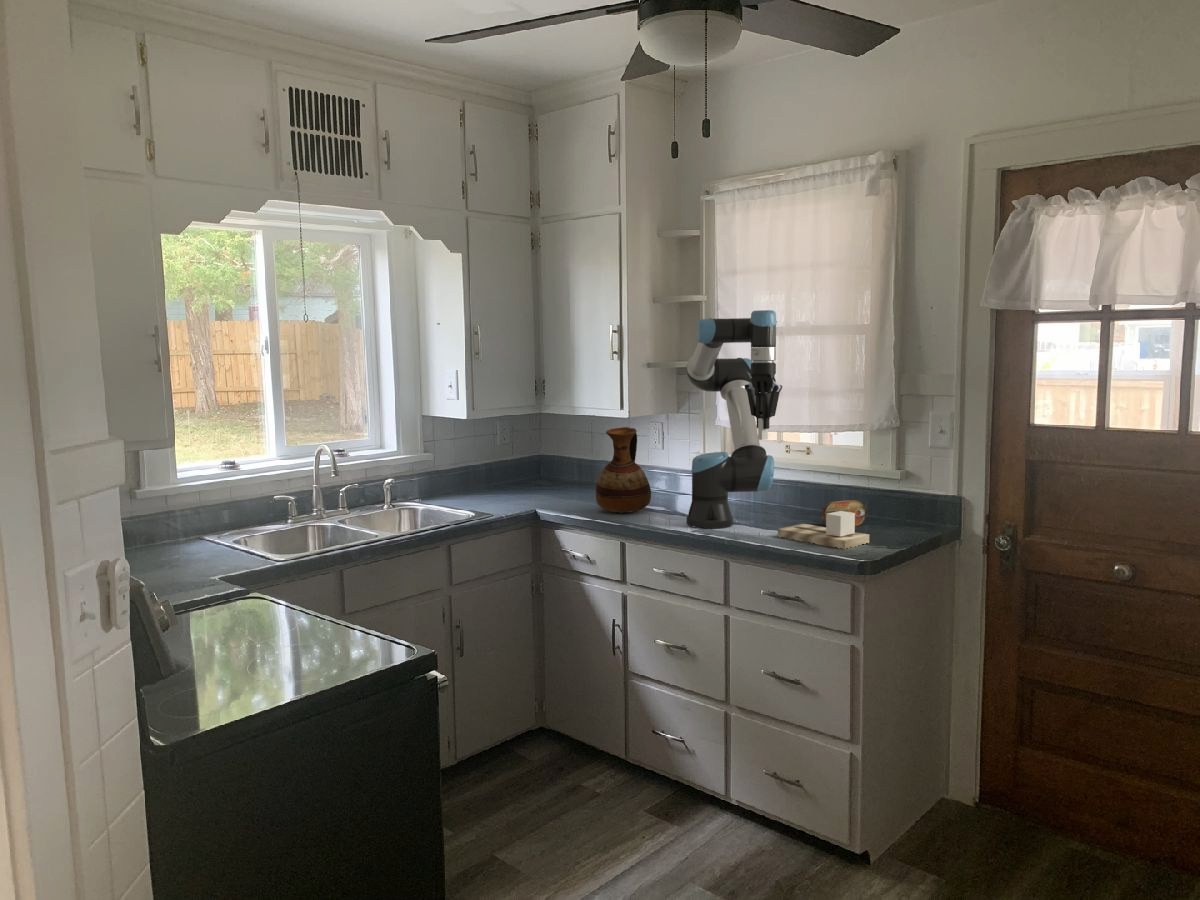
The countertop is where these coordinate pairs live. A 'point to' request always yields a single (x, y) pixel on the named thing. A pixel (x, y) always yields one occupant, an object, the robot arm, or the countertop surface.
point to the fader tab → (840, 523)
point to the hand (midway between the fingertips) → (762, 439)
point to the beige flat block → (822, 536)
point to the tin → (846, 509)
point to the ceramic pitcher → (623, 476)
